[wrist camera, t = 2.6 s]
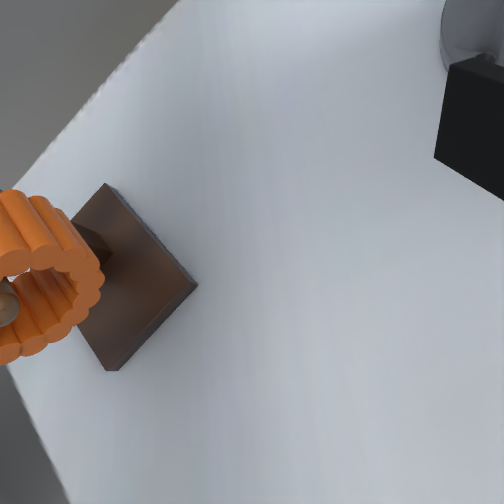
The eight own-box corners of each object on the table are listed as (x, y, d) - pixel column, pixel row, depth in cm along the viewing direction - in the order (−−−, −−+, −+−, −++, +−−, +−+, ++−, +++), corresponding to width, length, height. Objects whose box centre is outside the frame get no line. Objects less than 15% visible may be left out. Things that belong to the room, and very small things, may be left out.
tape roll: (97, 222, 28) (-32, 160, 20) (133, 267, 26) (5, 219, 18) (11, 317, 29) (-150, 295, 21) (39, 369, 27) (-127, 368, 18)
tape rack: (47, 263, 41) (-196, 190, 24) (114, 188, 40) (-88, 63, 24) (126, 385, 34) (-138, 396, 18) (209, 297, 33) (14, 226, 17)
